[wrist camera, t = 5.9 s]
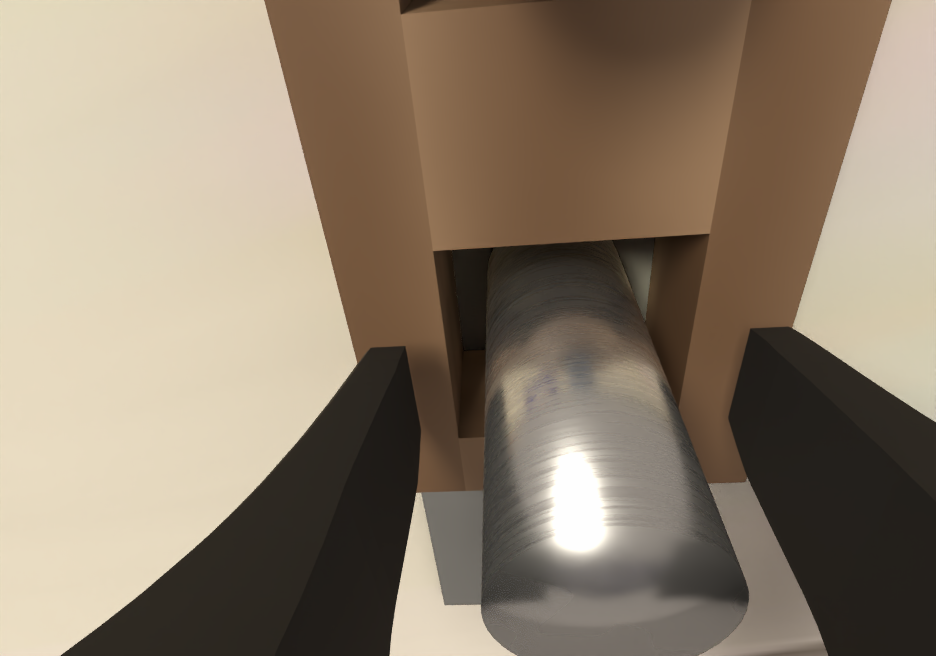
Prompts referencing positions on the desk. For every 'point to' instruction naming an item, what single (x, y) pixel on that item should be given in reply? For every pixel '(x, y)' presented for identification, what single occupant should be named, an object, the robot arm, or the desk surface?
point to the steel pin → (591, 472)
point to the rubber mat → (457, 543)
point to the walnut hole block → (574, 171)
